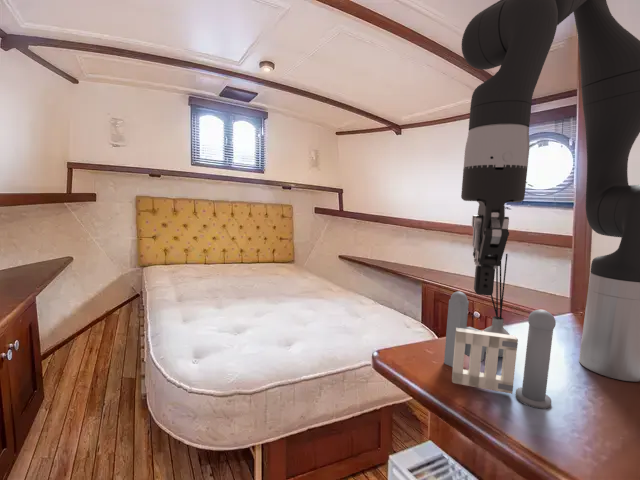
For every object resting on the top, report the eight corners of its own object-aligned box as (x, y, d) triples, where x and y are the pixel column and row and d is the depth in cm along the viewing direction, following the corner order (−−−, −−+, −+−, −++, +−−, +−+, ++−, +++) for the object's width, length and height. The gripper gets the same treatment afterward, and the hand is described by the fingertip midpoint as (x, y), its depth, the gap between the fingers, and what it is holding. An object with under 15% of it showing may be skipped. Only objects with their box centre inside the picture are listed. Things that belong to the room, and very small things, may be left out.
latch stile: (454, 358, 64) (459, 288, 63) (482, 370, 60) (489, 295, 58) (442, 363, 62) (447, 290, 60) (471, 376, 58) (478, 298, 56)
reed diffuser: (503, 367, 61) (514, 258, 59) (464, 355, 66) (472, 253, 63) (515, 349, 69) (525, 252, 67) (479, 339, 73) (487, 248, 71)
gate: (509, 388, 53) (515, 335, 52) (512, 394, 51) (518, 339, 50) (451, 377, 56) (455, 327, 55) (452, 383, 54) (456, 331, 53)
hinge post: (523, 387, 55) (532, 303, 53) (556, 401, 51) (567, 311, 49) (509, 397, 52) (519, 308, 50) (543, 412, 48) (554, 317, 46)
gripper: (460, 170, 52) (451, 280, 54) (468, 159, 39) (456, 303, 41) (515, 170, 50) (503, 285, 52) (542, 158, 37) (526, 311, 39)
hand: (482, 293), depth 47 cm, fingers closed
